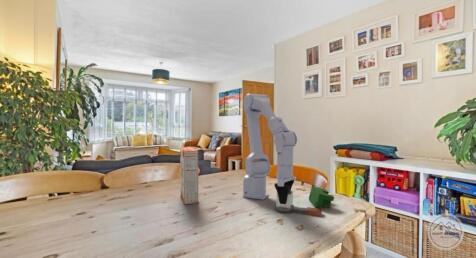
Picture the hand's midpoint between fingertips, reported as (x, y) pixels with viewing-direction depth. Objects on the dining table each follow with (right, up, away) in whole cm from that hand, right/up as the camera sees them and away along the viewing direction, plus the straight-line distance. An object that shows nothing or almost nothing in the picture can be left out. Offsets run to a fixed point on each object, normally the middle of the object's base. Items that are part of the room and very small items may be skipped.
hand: (284, 201), depth 93 cm
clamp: (+16, -3, +7) cm, 17 cm away
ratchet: (+4, -3, -2) cm, 6 cm away
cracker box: (-37, -3, +12) cm, 39 cm away
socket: (0, -2, 0) cm, 2 cm away
